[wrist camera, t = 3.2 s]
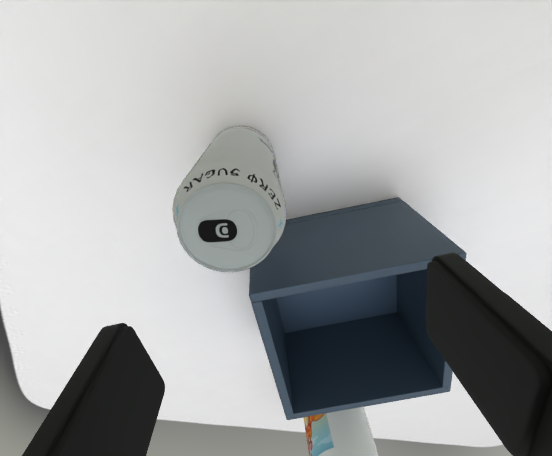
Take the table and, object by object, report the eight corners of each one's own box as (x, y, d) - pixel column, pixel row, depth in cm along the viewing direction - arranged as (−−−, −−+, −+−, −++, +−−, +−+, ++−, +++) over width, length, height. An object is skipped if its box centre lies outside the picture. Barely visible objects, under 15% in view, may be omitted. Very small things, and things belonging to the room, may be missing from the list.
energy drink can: (275, 187, 29) (290, 278, 16) (214, 190, 29) (176, 285, 15) (272, 123, 26) (288, 167, 13) (205, 126, 26) (150, 173, 13)
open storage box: (251, 226, 31) (248, 294, 21) (399, 196, 30) (467, 252, 20) (279, 332, 38) (286, 420, 28) (399, 310, 37) (450, 391, 27)
